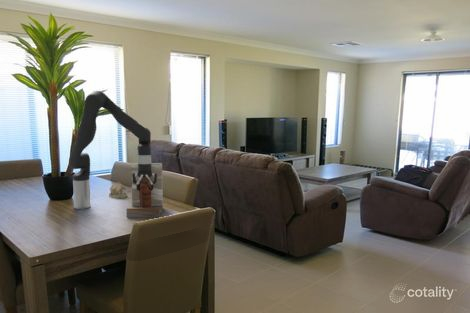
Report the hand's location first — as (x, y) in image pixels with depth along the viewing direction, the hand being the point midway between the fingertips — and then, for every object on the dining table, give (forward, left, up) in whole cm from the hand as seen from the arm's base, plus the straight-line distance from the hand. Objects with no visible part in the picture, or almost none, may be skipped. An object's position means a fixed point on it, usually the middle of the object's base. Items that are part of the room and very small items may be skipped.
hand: (145, 190), depth 211 cm
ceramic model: (-40, -24, -14) cm, 49 cm away
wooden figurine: (0, 0, -10) cm, 10 cm away
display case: (+1, 0, -13) cm, 13 cm away
